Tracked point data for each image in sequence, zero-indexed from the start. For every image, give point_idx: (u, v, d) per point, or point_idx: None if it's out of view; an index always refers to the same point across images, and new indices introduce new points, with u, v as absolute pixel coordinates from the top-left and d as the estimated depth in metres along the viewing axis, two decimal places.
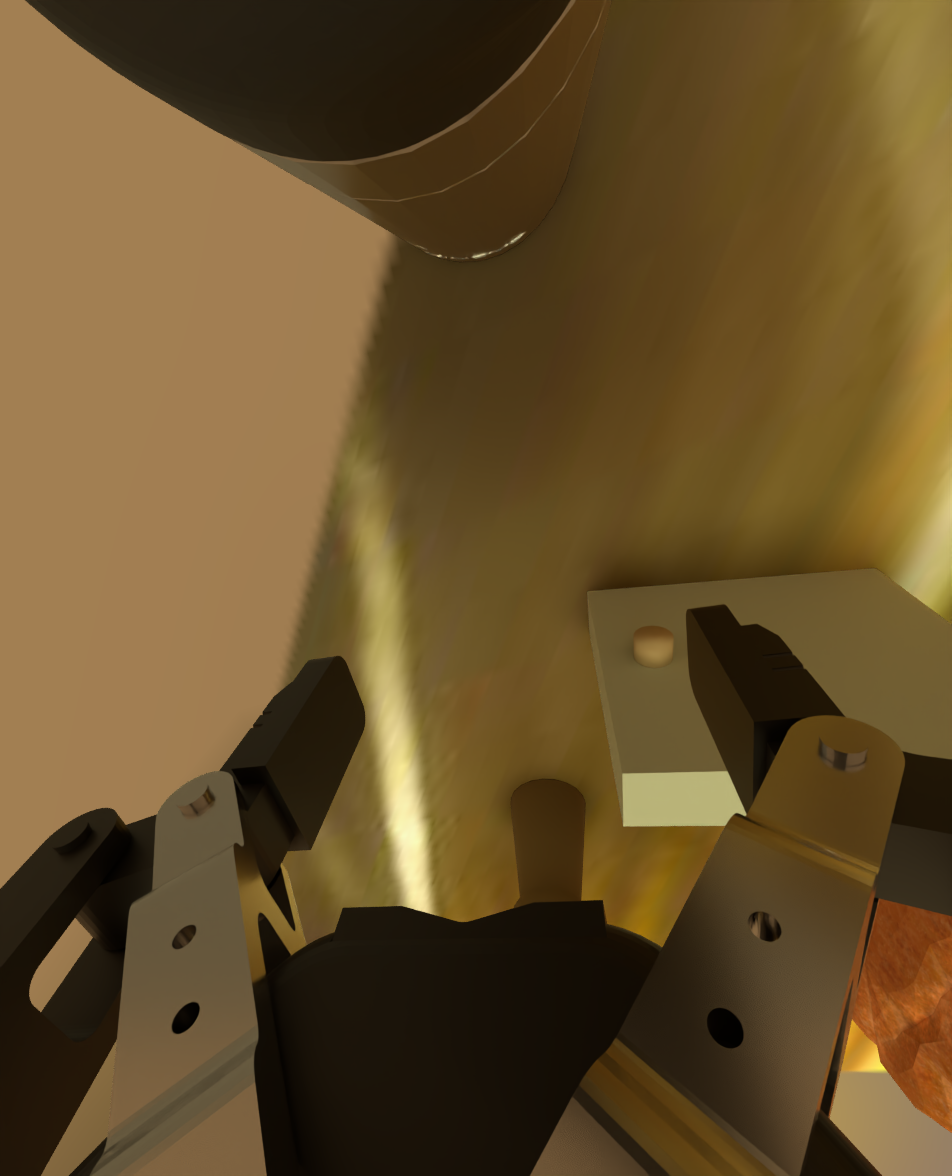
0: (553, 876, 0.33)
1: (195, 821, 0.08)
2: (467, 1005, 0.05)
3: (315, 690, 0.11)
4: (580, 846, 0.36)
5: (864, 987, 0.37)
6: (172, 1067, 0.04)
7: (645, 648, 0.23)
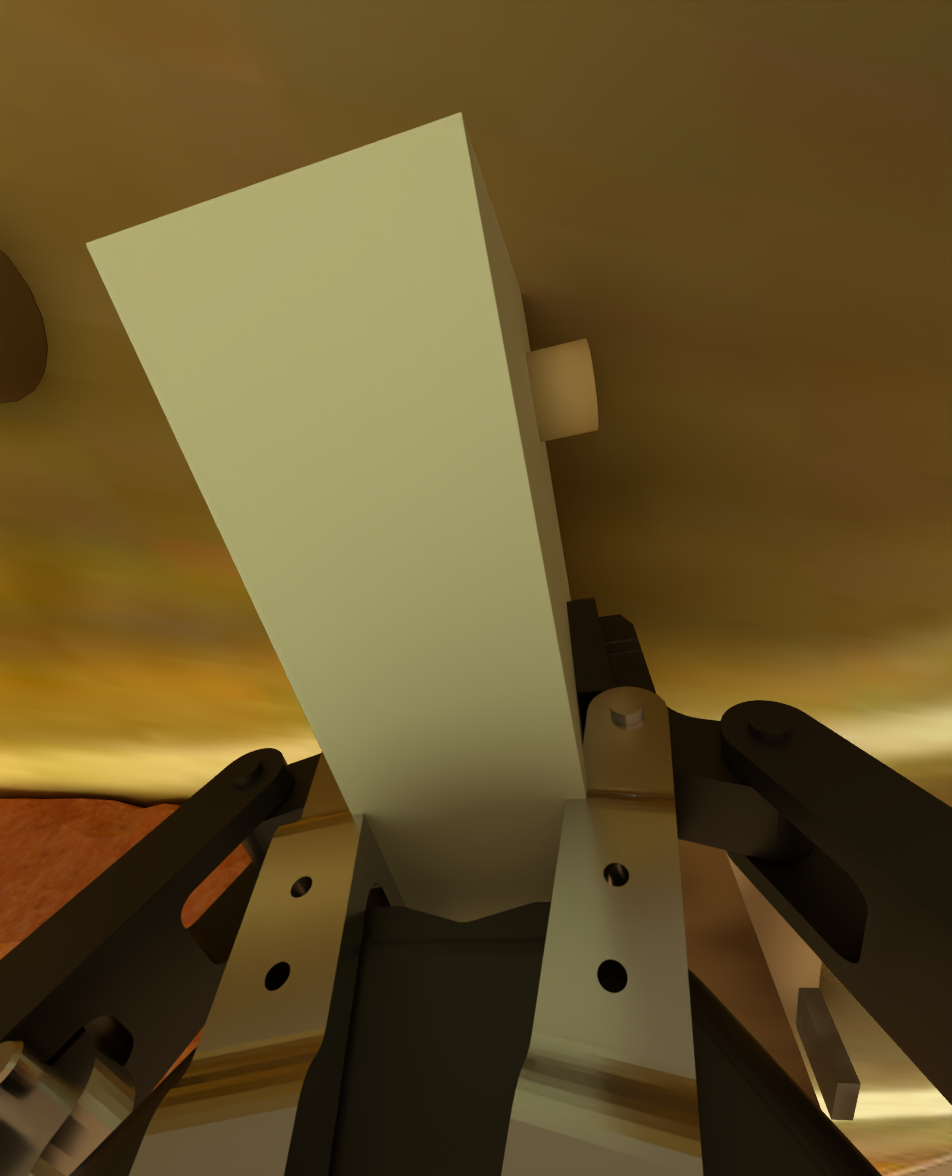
0: None
1: None
2: (467, 1005, 0.05)
3: None
4: None
5: None
6: (253, 1023, 0.04)
7: (585, 362, 0.09)
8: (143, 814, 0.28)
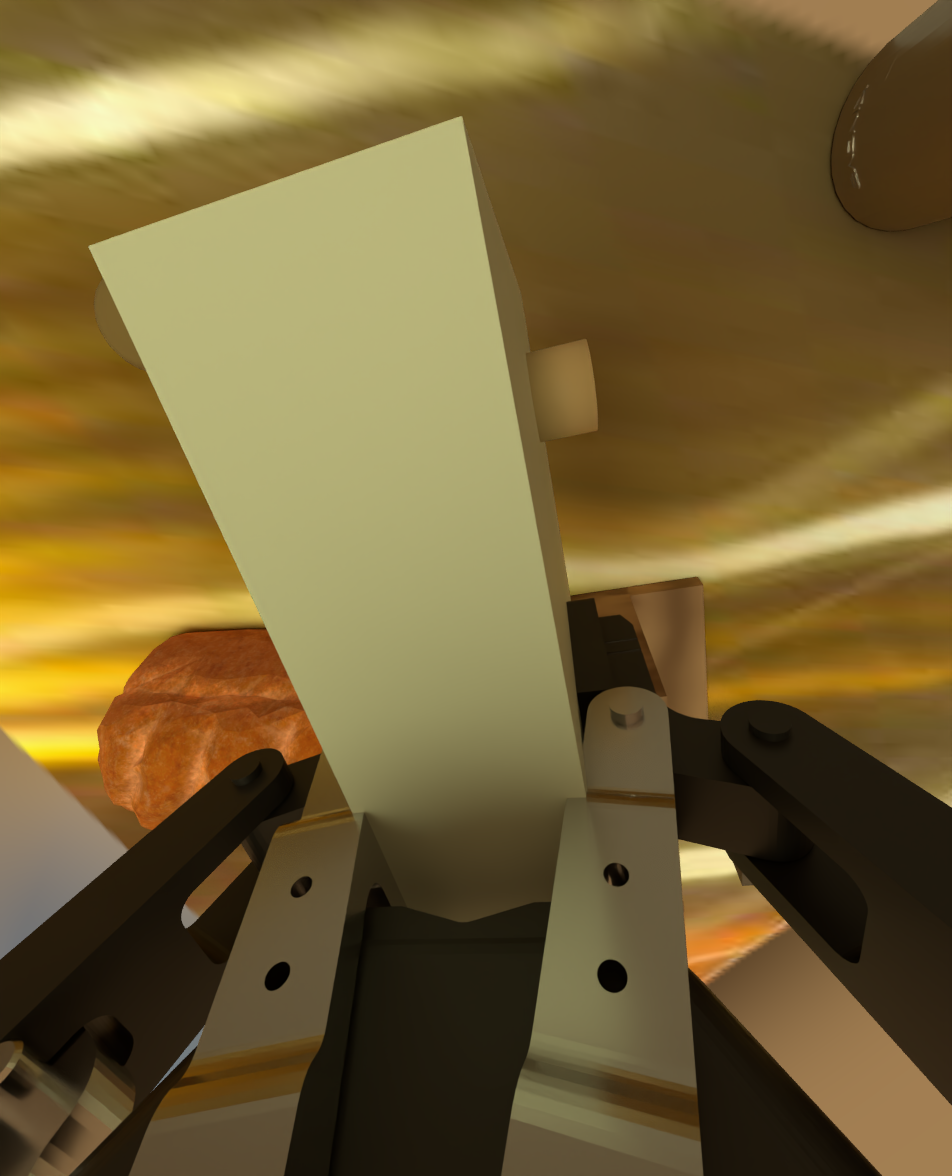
0: None
1: None
2: (467, 1005, 0.05)
3: None
4: None
5: (178, 665, 0.41)
6: (252, 1024, 0.04)
7: (584, 362, 0.09)
8: None
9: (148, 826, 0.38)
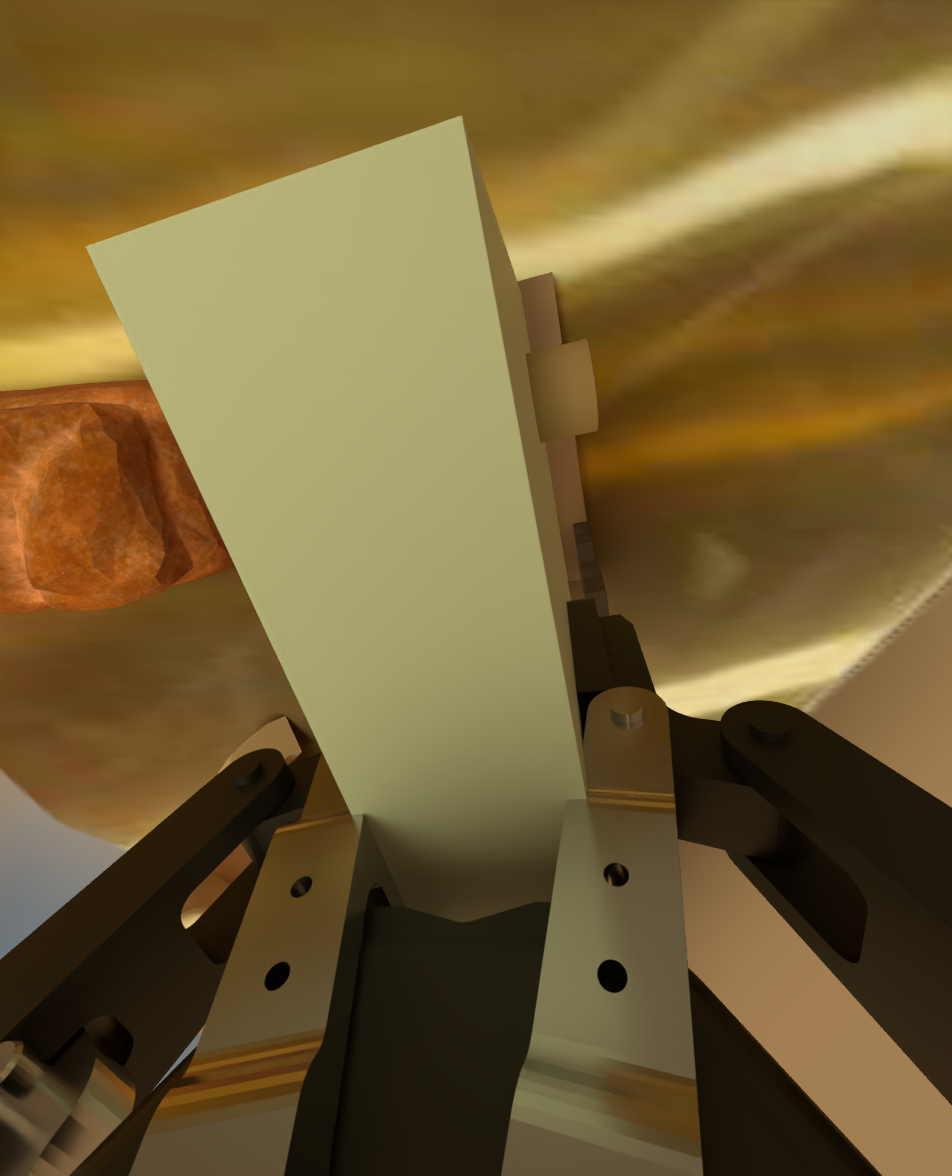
0: None
1: None
2: (467, 1005, 0.05)
3: None
4: None
5: None
6: (252, 1024, 0.04)
7: (585, 362, 0.09)
8: None
9: None
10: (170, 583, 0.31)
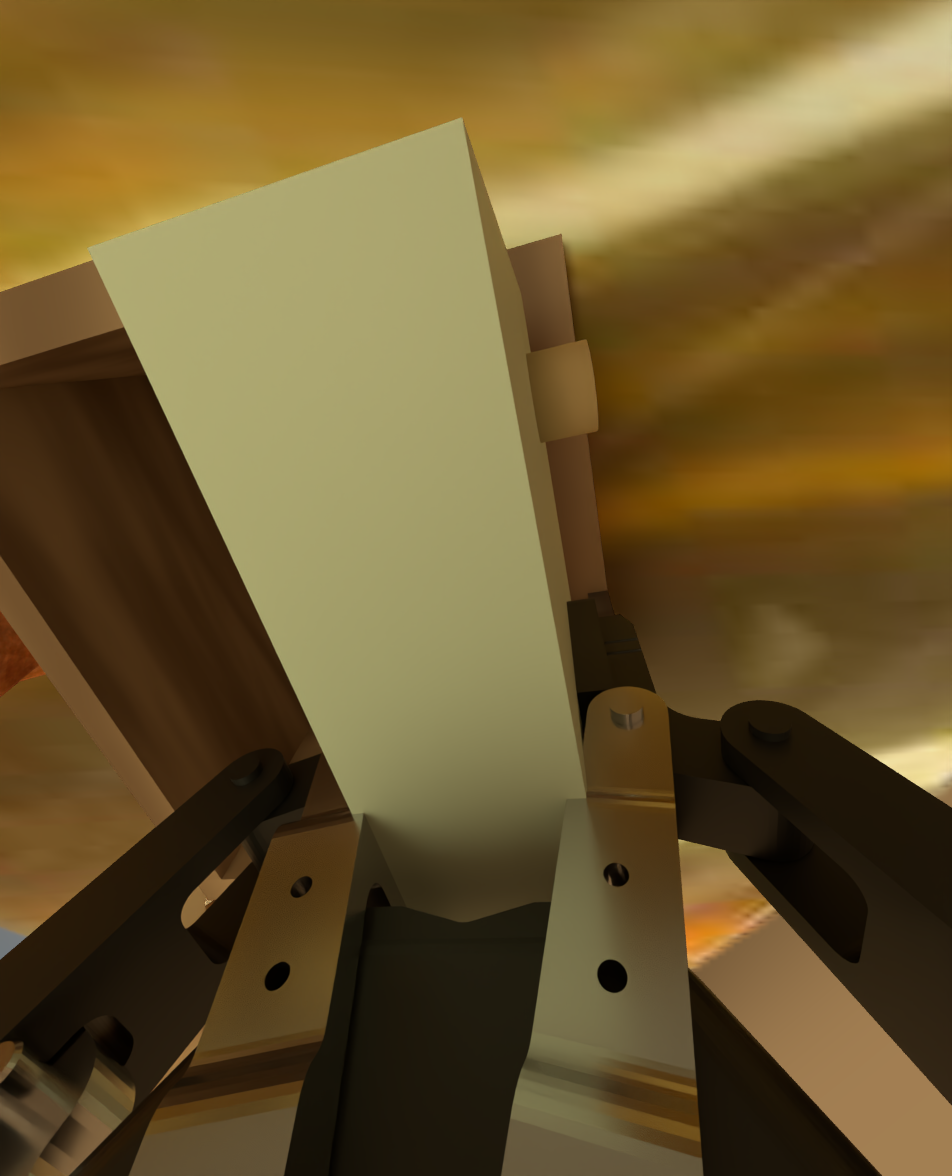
0: None
1: None
2: (467, 1005, 0.05)
3: None
4: None
5: None
6: (252, 1024, 0.04)
7: (585, 363, 0.09)
8: None
9: None
10: (0, 690, 0.21)
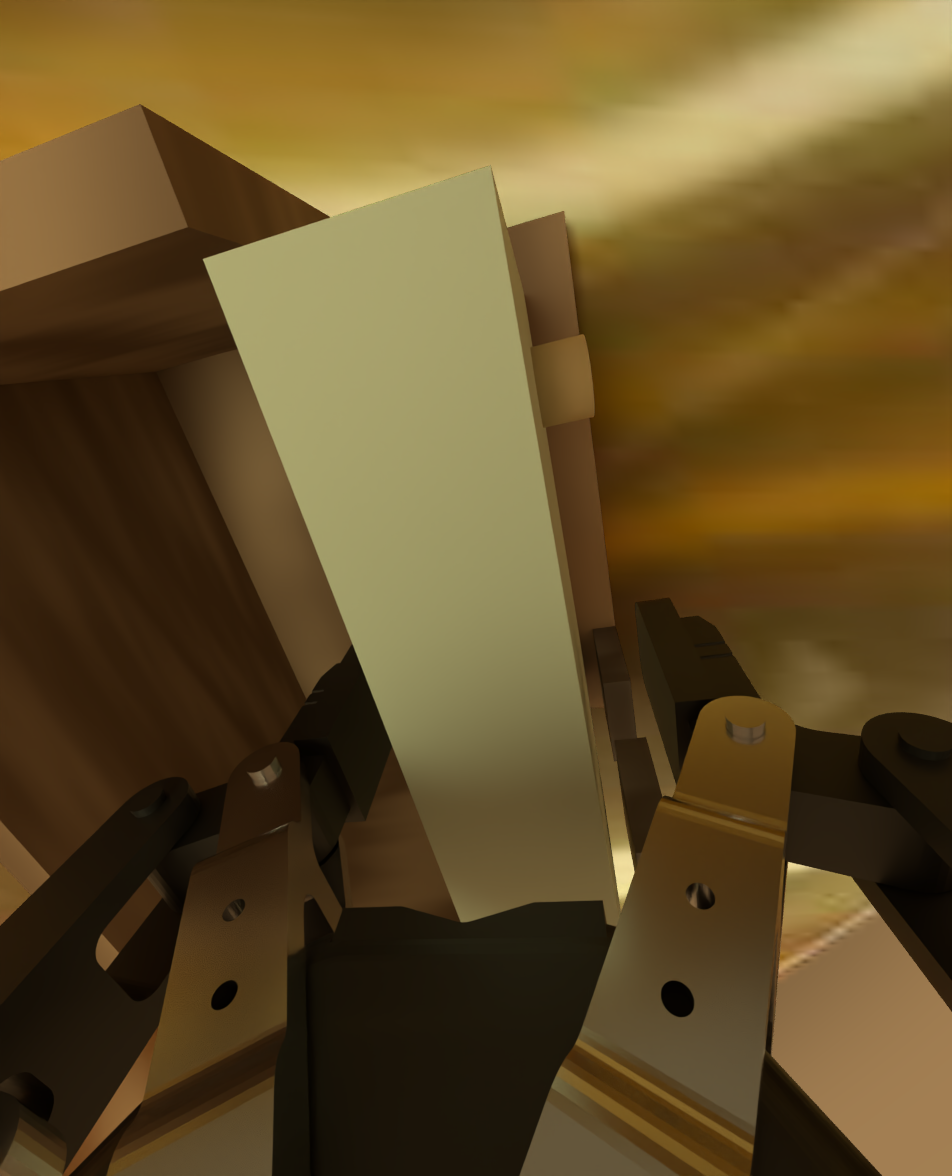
0: None
1: (267, 787, 0.08)
2: (467, 1004, 0.05)
3: None
4: None
5: None
6: (206, 1045, 0.04)
7: (582, 355, 0.11)
8: None
9: None
10: None
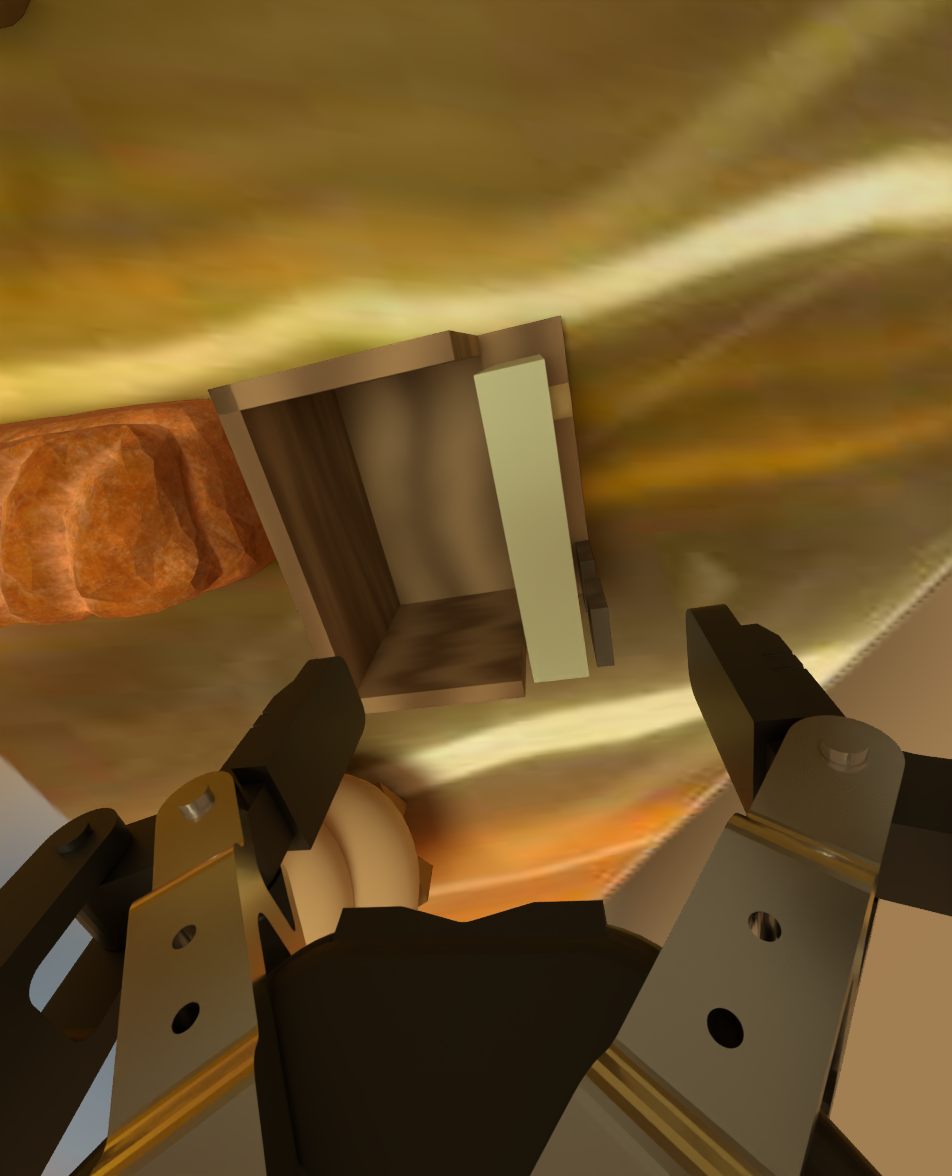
0: None
1: (195, 821, 0.08)
2: (467, 1005, 0.05)
3: (315, 690, 0.11)
4: None
5: None
6: (172, 1068, 0.04)
7: (567, 391, 0.27)
8: None
9: None
10: (203, 588, 0.33)
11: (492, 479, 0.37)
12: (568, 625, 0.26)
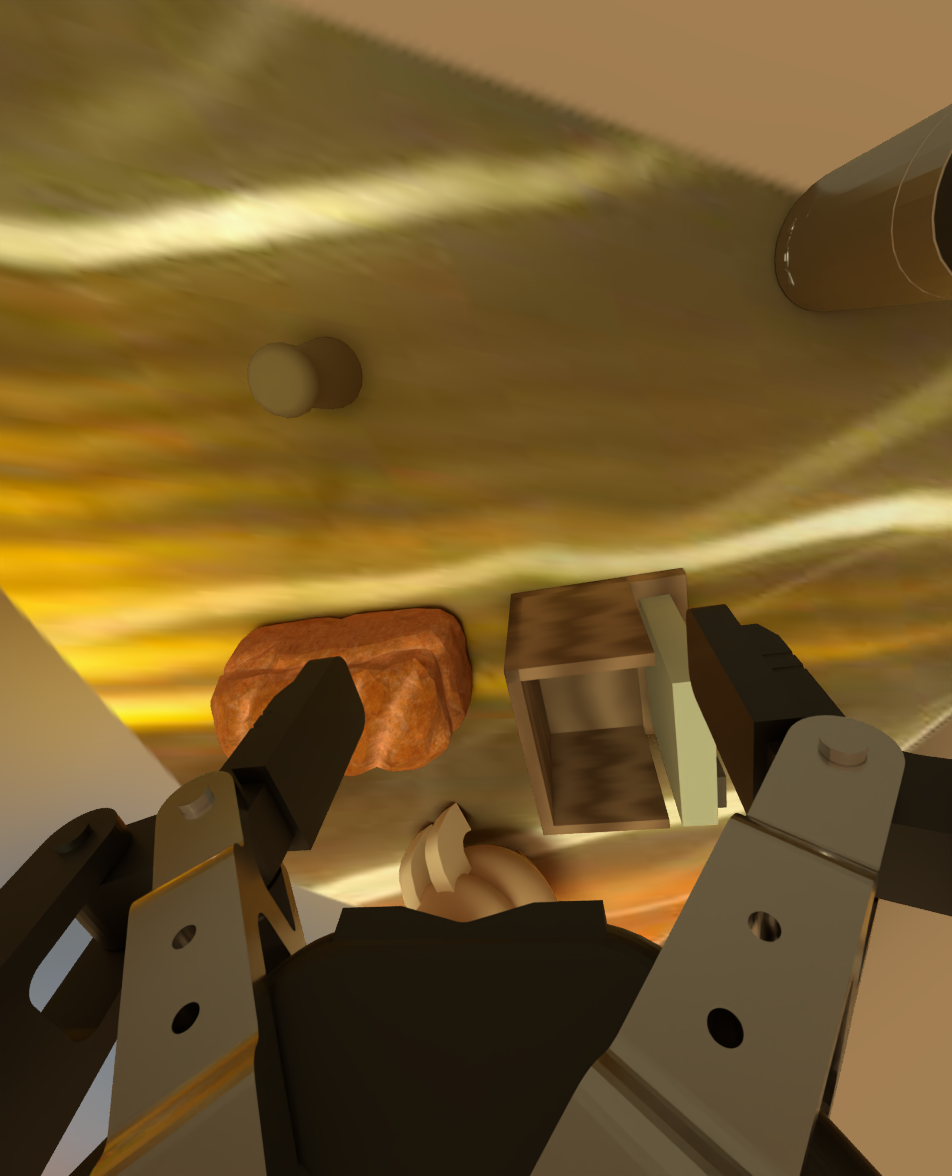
0: (321, 378, 0.39)
1: (195, 821, 0.08)
2: (467, 1005, 0.05)
3: (315, 690, 0.11)
4: (330, 403, 0.43)
5: (264, 648, 0.52)
6: (172, 1069, 0.04)
7: None
8: (346, 618, 0.56)
9: None
10: None
11: None
12: (709, 798, 0.43)
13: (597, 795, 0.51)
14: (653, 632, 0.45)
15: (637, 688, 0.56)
